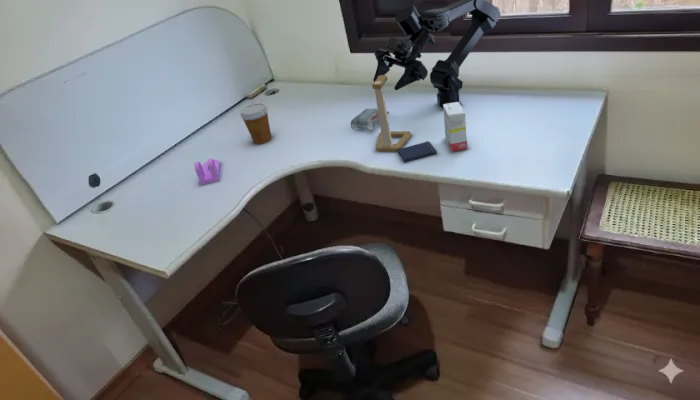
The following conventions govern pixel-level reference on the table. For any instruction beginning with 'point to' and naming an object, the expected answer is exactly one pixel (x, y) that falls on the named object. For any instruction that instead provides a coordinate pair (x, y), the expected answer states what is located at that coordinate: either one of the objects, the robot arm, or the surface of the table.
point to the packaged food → (366, 119)
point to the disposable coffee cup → (257, 122)
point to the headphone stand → (386, 122)
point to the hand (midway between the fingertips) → (384, 85)
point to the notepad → (417, 151)
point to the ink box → (455, 126)
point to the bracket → (205, 174)
